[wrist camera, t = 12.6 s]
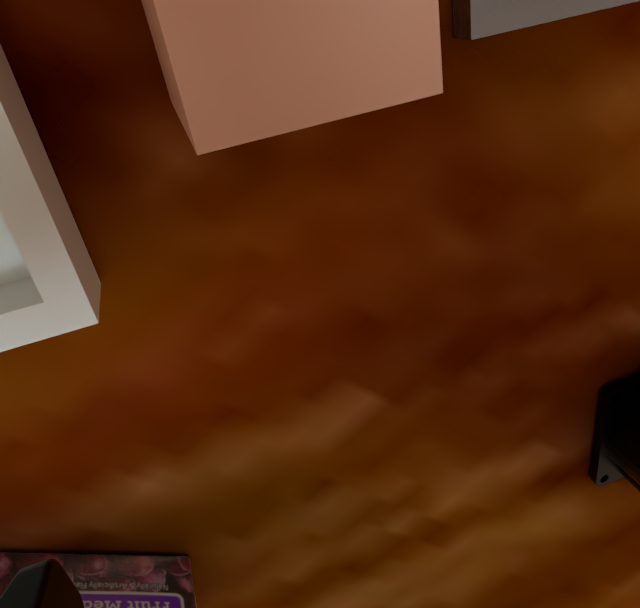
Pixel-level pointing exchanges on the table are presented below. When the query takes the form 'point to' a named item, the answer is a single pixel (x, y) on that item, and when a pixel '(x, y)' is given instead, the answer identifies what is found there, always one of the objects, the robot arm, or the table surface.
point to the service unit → (517, 14)
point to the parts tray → (37, 236)
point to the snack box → (116, 578)
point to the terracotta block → (290, 62)
